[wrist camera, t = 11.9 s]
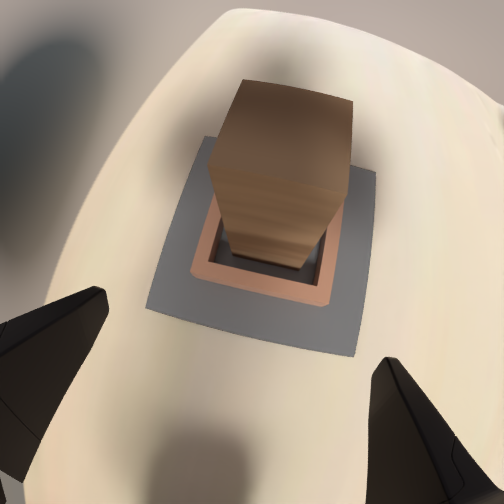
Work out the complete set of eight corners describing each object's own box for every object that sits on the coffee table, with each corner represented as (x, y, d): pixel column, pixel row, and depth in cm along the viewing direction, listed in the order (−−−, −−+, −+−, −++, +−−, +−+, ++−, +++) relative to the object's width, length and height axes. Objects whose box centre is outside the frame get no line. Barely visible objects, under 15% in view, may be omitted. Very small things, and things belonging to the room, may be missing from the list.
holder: (352, 357, 19) (363, 359, 17) (147, 308, 20) (134, 305, 18) (374, 174, 24) (383, 160, 21) (205, 138, 25) (201, 122, 22)
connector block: (298, 271, 21) (347, 194, 9) (232, 256, 21) (207, 164, 10) (309, 210, 22) (352, 101, 11) (248, 197, 22) (242, 79, 11)
